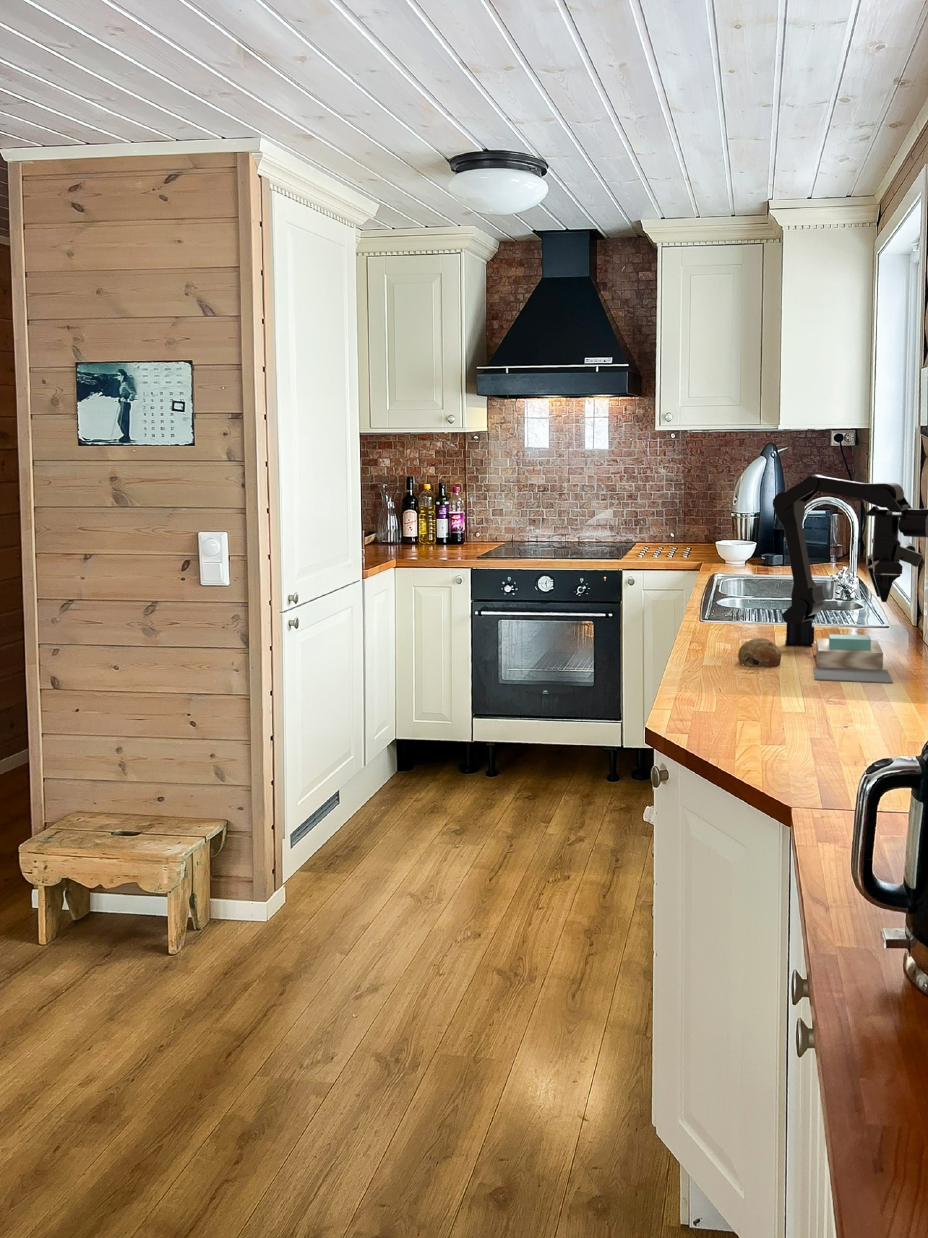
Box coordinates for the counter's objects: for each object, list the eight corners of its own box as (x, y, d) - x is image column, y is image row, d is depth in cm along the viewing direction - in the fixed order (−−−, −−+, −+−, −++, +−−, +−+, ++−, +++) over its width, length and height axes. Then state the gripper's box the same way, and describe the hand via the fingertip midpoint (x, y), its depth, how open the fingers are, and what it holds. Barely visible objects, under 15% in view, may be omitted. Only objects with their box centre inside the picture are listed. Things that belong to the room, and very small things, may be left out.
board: (817, 668, 265) (818, 650, 265) (815, 654, 283) (816, 638, 282) (882, 670, 262) (883, 653, 261) (876, 656, 279) (877, 640, 278)
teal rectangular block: (829, 649, 267) (829, 638, 267) (828, 644, 273) (829, 634, 272) (870, 650, 265) (871, 639, 264) (868, 646, 270) (869, 635, 270)
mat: (814, 680, 252) (814, 678, 252) (813, 668, 265) (813, 666, 265) (892, 683, 248) (892, 682, 248) (887, 671, 261) (887, 669, 261)
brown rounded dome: (734, 679, 272) (731, 651, 268) (745, 654, 279) (742, 627, 275) (777, 683, 267) (774, 654, 263) (786, 657, 275) (784, 629, 271)
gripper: (927, 539, 268) (922, 606, 270) (915, 532, 286) (911, 595, 288) (876, 538, 270) (872, 604, 273) (868, 531, 288) (864, 593, 291)
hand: (881, 599), depth 281 cm, fingers open, 9 cm apart
